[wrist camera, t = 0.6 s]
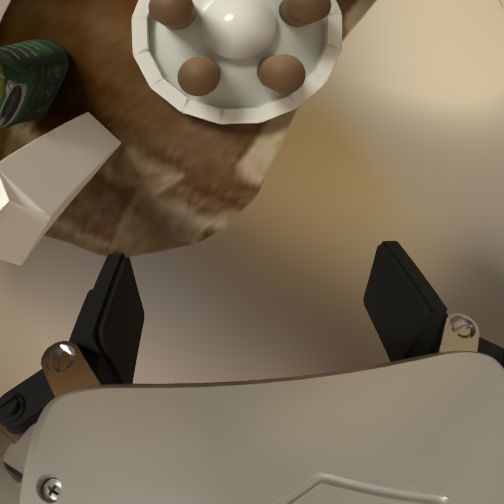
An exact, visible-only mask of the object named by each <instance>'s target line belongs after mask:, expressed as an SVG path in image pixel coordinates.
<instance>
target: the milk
mask: <svg viewBox="0 0 504 504" xmlns="http://www.w3.org/2000/svg"><path fill="white" fill-rule="evenodd" d="M120 145H121V142H120V141H119V140H118V139H117V138H116V137H115V136H114V135H112V134H111V133H110V132H109V131H108V130H107V129H106V128H105V127H104V126H103V125H102V124H101V123H100V122H99V121H97V120H96V119H95V118H94V117H93V116H92V115H91V114H90V113H89V112H87V113H84V114H82V115H80V116H78V117H76V118H74V119H72V120H70V121H68V122H66V123H64V124H63V125H61V126H59V127H57V128H55V129H53V130H51V131H50V132H48V133H46V134H44V135H42V136H41V137H39V138H37V139H35V140H34V141H32V142H30V143H29V144H27V145H25V146H24V147H22V148H20V149H19V150H17V151H15V152H14V153H12V154H11V155H9V156H8V157H6V158H5V159H3V160H2V161H0V260H3V261H6V262H10V263H13V264H17V265H22V264H23V263H24V261H25V260H26V259H27V257H28V256H29V254H30V253H31V252H32V250H33V249H34V247H35V246H36V245H37V243H38V242H39V241H40V240H41V238H42V237H43V236H44V234H45V233H46V232H47V230H48V229H49V228H50V227H51V225H52V224H53V223H54V222H55V220H56V219H57V218H58V217H59V215H60V214H61V213H62V212H63V211H64V209H65V208H66V207H67V206H68V205H69V203H70V202H71V201H72V200H73V199H74V198H75V196H76V195H77V194H78V193H79V192H80V191H81V190H82V188H83V187H84V186H85V185H86V184H87V183H88V182H89V181H90V180H91V179H92V177H93V176H94V175H95V174H96V173H97V171H98V170H99V169H100V168H101V167H102V165H103V164H104V163H105V162H106V161H107V159H108V158H109V157H110V156H111V155H112V154H113V153H114V151H115V150H116V149H117V148H118V147H119V146H120Z"/></svg>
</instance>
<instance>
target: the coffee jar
mask: <svg viewBox="0 0 504 504" xmlns="http://www.w3.org/2000/svg"><path fill="white" fill-rule="evenodd" d="M68 65H69V60H68V56H67V54H66V52H65V51H64V50H63V49H62V48H61V47H59V46H58V45H56V44H54V43H52V42H50V41H48V40H43V39H37V40H29V41H24V42H20V43H16V44H12V45H7V46H2V47H0V130H3V129H5V128H8V127H10V126H13V125H16V124H19V123H22V122H25V121H29V120H31V119H34V118H37V117H39V116H41V115H43V114H44V113H45V112H46V111H47V110H48V108H49V107H50V105H51V104H52V102H53V100H54V98H55V97H56V95H57V93H58V91H59V89H60V87H61V85H62V83H63V80H64V78H65V76H66V73H67V70H68Z"/></svg>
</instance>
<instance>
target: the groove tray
mask: <svg viewBox="0 0 504 504" xmlns="http://www.w3.org/2000/svg"><path fill="white" fill-rule="evenodd" d="M192 1H193V4H194V6H195V8H196V17H195V19H194V21H193V22H192V23H191V24H190V25H189V26H187V27H186V28H183V29H179V30H173V29H169V28H167V27H166V26H164V25H162V24H161V23H159V22H157V21H156V20H154V19H153V18H152V17H151V15H150V13H149V9H148V6H149V2H150V0H139V1H138V3H137V6H136V8H135V10H134V13H133V15H132V17H133V18H132V44H133V54H135V55H133V56H134V58H135V59H136V61H137V63H138V65H139V67H140V69H141V71H142V73H143V75H144V76H145V78H146V80H147V82H148V84H149V86H150V87H152V88H151V89H153V90H154V91H155V92H156V93H158V94H159V95H160V96H161V97H163V98H164V99H165V100H167V101H168V102H169V103H170V104H172V105H173V106H174V107H175V108H177V109H178V110H179V111H180V112H181V111H182V110H183V111H182V113H185V114H189V115H192V116H195V117H198V118H202V119H205V120H208V121H211V122H214V123H217V124H238V123H260V121H261V123H262V122H264V121H266V120H269V119H271V118H274V117H276V116H279V115H281V114H284V113H287V112H289V111H292V110H294V109H297V107H298V108H299V107H300V106H301V105H302V104H303V103H304V102H305V101H306V100H307V99H308V98H310V97H311V95H313V94H314V93H315V92H316V91H317V90H318V89H320V88H321V87H322V86H323V85H324V84H325V82H327V80H328V78H329V76H330V73H331V71H332V69H333V67H334V65H335V63H336V61H337V58H338V56H339V54H340V52H341V50H340V49H342V14H340V13H342V12H341V10H340V8H339V5H338V3H337V1H336V0H330V1H331V10H330V12H329V14H328V15H327V16H326V17H325V18H324V19H322V20H319V21H316V22H314V23H311V24H308V25H305V26H302V27H293V26H290V25H288V24H286V23H285V22H284V21H283V20H282V19H281V17H280V15H279V6H280V4H281V2H282V1H283V0H192ZM282 54H286V55H291V56H294V57H296V58H297V59H299V60H300V61H301V63H302V64H303V66H304V68H305V72H306V77H305V81H304V83H303V85H302V86H301V87H300V88H299V89H298V90H297V91H295V92H293V93H289V94H282V93H278V92H276V91H274V90H272V89H270V88H268V87H266V86H265V85H263V84H262V83H261V82H260V80H259V79H258V76H257V67H258V65H259V63H260V62H261V61H262V60H263V59H264V58H266V57H268V56H273V55H282ZM196 56H204V57H207V58H210V59H212V60H214V61H215V62H216V63H217V64H218V66H219V68H220V81H219V84H218V86H217V87H216V88H215V89H214V90H213V91H212V92H211V93H209V94H207V95H204V96H192V95H189V94H187V93H186V92H184V91H183V90H182V89H181V87H180V86H179V83H178V71H179V69H180V67H181V65H182V64H183V63H184V62H185V61H186V60H188V59H190V58H192V57H196Z"/></svg>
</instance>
